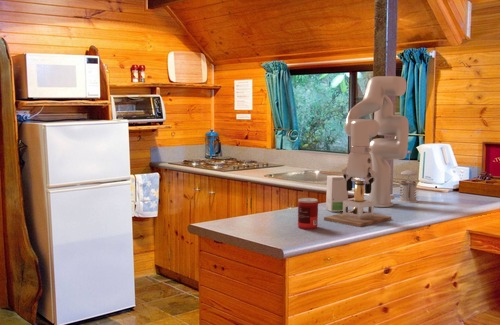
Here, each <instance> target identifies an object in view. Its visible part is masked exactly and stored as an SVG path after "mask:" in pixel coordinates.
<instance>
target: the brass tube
mask: <svg viewBox="0 0 500 325" xmlns="http://www.w3.org/2000/svg"><path fill="white" fill-rule="evenodd" d="M365 182H366V181H365V180H360V179H359V180H358V179H356V180H354V188H353V189H354V190H353V191H354V195H353V199H354V202H364V199H365V184H366V183H365ZM352 208H353V209H352V210H353V213H356V214H357V212H358V208H356V207H352Z"/></svg>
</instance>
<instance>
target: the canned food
mask: <svg viewBox="0 0 500 325" xmlns="http://www.w3.org/2000/svg"><path fill="white" fill-rule="evenodd" d="M297 200H298V201H297V227H298V228H299V229H300V230H315V229H317V228H318V216H319V199H317V198H312V197H301V198H298V199H297Z"/></svg>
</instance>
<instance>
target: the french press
mask: <svg viewBox="0 0 500 325" xmlns="http://www.w3.org/2000/svg"><path fill="white" fill-rule="evenodd" d="M412 153H413V152H412V150H407V154H408V164H410V161H411V160H410V158H411V154H412ZM400 175H402V176H408V177H407V180H401V181H400V182H401V183H400V184H399V187H400V188H399V199H397V202H400V203H404V204H405V203H409V204H411V203H412V204H416V203H419V201H418V200H417V187H418V186H417V184H416V183H417V181H414V180H413V179H414V178H413V177H411V179H410V176H417V175H418V173H417V172H416V171H414V170H410V169H407V170H403V171H401V172H400Z"/></svg>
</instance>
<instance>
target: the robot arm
mask: <svg viewBox="0 0 500 325" xmlns="http://www.w3.org/2000/svg"><path fill="white" fill-rule="evenodd" d="M407 85H408V84H407V80H406V78H405V77H404V76H396V75H395V76H394V75H387V76H386V75H383V76H382V75H378V76H377V75H376V76H373V77H371V78H369V80H368V82H367V85H366V87H365V91H364V95H363V98H362V100H360V101H359V102H358V103H356V104H355V105H354V106H353V107H352V108H350V110H349V111H348V113H347V117H346V119H345V123H344V133H345V135H347V136H348V137H350V152H349V154H348V159H347V164H346V167H344V168H343V169H342V170H341V173H342V176H343V177H344V178H345V181H347V184H346V188H347V191H348V192H349V191H350V192H351V191H353V179H354V178H356V179H364V181H365V182H366V183H365V187H364V194H365V195H366V194H369V196H368V197H369V198H368V200H371V201H374V207H375V208H389V207H390V208H391V207H393V206H394V203H393V202H392V200H394V199H395V195H391V180H392V179H391V178H392V177H391V176H392V167H391V165H390V164H389V162H388V161H387V160H405V158H406V157H407V155H408V148H409V146H408V145H409V132H410V131H409V128H410V126H409V125H410V124H409V120H408V118H407V117H406V116H404V115H395V114H394V103H393V101H392V100H391V98H390V97H389V96H397V97H398V96H399V97H400V96H403V95H405V93H406V91H407ZM373 113H374V115H373V119H369V118H362V117H364V116H367V115H371V114H373ZM377 135H378V136H387V137H388V136H390V137H396V138H385V137H384V138H383V137H381V138H379V137H378V138H377V137H376V136H377ZM374 137H376V138H374ZM370 138H372V139H371V140H370Z"/></svg>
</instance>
